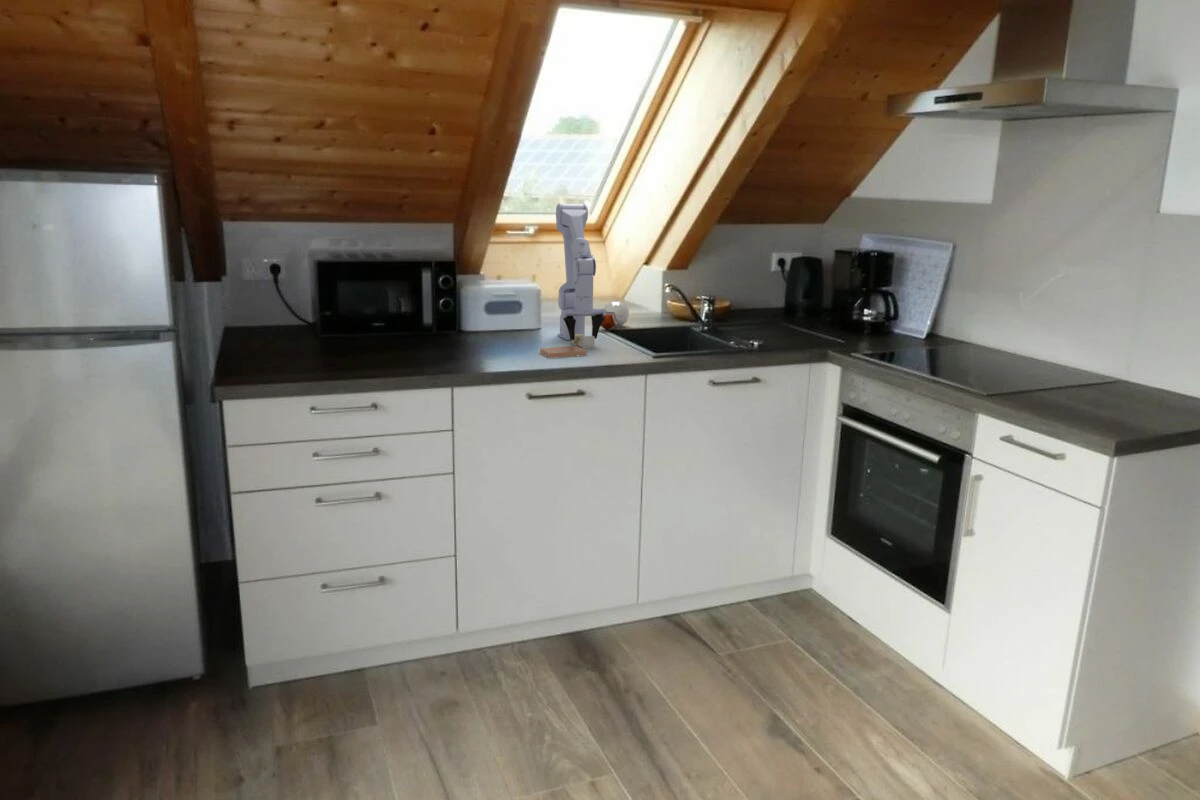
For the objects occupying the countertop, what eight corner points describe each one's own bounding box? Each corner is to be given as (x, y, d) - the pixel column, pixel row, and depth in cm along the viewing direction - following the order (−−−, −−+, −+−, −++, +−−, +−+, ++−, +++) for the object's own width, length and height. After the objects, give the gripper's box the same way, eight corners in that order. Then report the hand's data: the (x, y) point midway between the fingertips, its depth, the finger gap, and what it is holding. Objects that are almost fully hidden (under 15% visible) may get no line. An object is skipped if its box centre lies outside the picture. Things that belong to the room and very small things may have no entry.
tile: (540, 348, 268) (549, 353, 261) (576, 345, 273) (586, 350, 266) (540, 354, 269) (549, 360, 262) (576, 352, 273) (586, 357, 266)
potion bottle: (623, 328, 322) (610, 339, 308) (602, 311, 322) (589, 322, 309) (637, 309, 317) (625, 320, 304) (616, 292, 318) (603, 302, 304)
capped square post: (570, 343, 285) (570, 331, 284) (581, 342, 286) (581, 330, 285) (582, 349, 275) (582, 336, 274) (594, 348, 277) (594, 336, 276)
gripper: (567, 298, 269) (566, 342, 273) (610, 297, 275) (609, 339, 278) (558, 295, 276) (558, 338, 279) (601, 294, 281) (600, 335, 285)
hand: (583, 338), depth 279 cm, fingers open, 7 cm apart
